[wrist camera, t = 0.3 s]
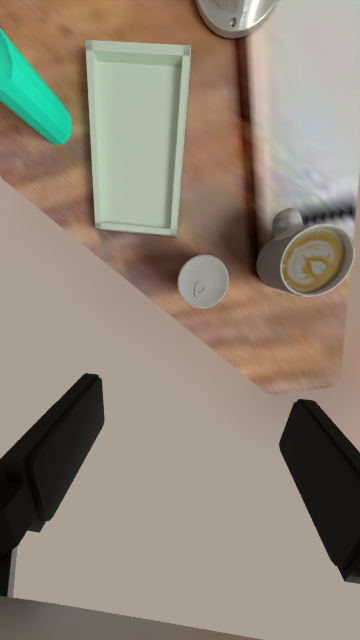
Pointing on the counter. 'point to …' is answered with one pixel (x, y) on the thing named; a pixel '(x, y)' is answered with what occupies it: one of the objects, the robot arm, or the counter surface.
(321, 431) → the robot arm
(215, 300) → the canned food
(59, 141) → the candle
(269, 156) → the counter surface
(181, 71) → the tray
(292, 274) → the coffee mug
